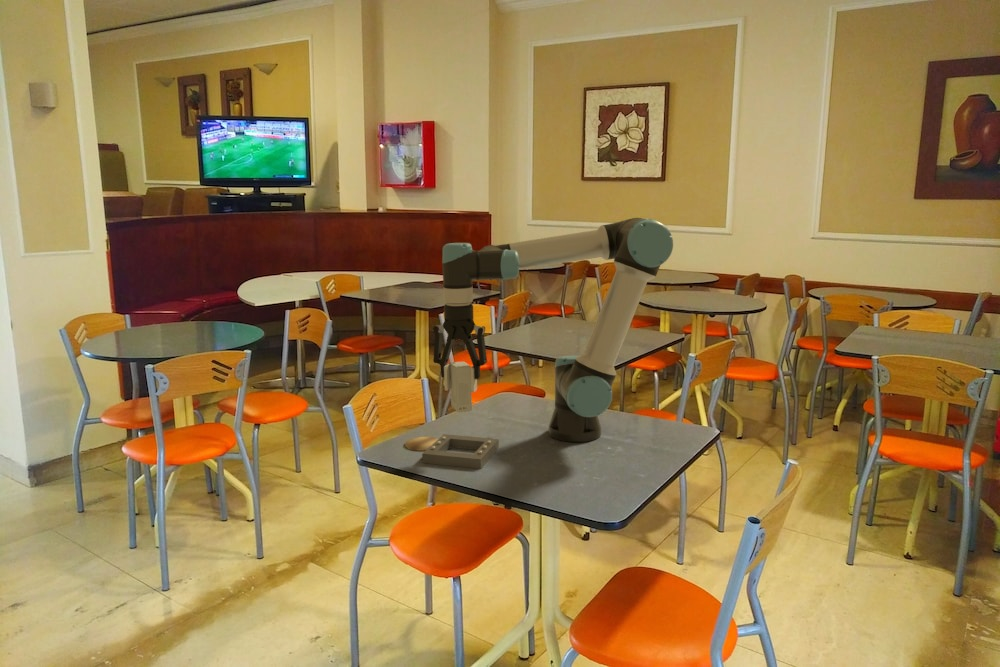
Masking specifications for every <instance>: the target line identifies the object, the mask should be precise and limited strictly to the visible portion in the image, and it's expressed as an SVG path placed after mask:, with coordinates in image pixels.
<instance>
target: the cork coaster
mask: <svg viewBox="0 0 1000 667" xmlns="http://www.w3.org/2000/svg"><path fill="white" fill-rule="evenodd" d="M438 439H439V438H437V437H433V436H419V437H413V438H410V439H408V440H406V441H405V444H404V445H405V448H406V449H408V450H410V451H416V452H425V451H426V450H427V449H428V448H429V447H430V446H431V445H432V444H434V443H435V442H436V441H437V440H438Z"/></svg>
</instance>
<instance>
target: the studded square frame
mask: <svg viewBox="0 0 1000 667" xmlns="http://www.w3.org/2000/svg"><path fill="white" fill-rule="evenodd" d="M499 440H500V439H499V438H492V437H491V438H489V437H481V436H468V435H457V434H456V435H455V434H443V435H441V436H440V437H439V438H438V440H437V441H436V442H435V443H434V444H432V445H431V446H430V447H429V448H428V449H427V450H426V451H423V452H422V463H423V464H430V465H431V464H432V465H440V466H442V465H443V466H451V467H463V468H471V469H482V468H483V467H484V466H485V464H486V463H487V462H488V461H489V460H490V459H491V457H493V455H494V454H495V453H496V452H497V450H499V448H500V445H499V444H500V442H499ZM450 448H456V449H466V450H476V451H475V452H474V453H466V452H465V453H463V452H454V451H448V450H449V449H450Z"/></svg>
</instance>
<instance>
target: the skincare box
mask: <svg viewBox="0 0 1000 667" xmlns="http://www.w3.org/2000/svg"><path fill="white" fill-rule="evenodd" d="M449 364H450V383H451V388H450V401H451V402H450V405H451V407H452V408H453V410H455V411H456V412H458V413H463V412H464V413H465V412H471V411H472V410H473V402H472V392H471V367H472V366H470V365H469V364H468V363H467V362H465V361H455V362H450V363H449Z"/></svg>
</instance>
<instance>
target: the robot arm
mask: <svg viewBox="0 0 1000 667" xmlns="http://www.w3.org/2000/svg"><path fill="white" fill-rule="evenodd" d="M671 233H672V232H671V231H670V230H669V228H668V227H667V226H666V225H665V224H663V223H661V222H659V221H657V220H656V219H651V218H641V217H631V218H628V219H625V220H621V221H617V222H613V223H609V224H602V225H600V226H599V227H598V229H595V230H594V229H593V230H587V231H581V232H575V233H567V234H562V235H554V236H549V237H542V238H541V237H540V238H536V239H530V240H529V239H528V240H524V241H523V240H522V241H518V242H511V243H510V242H509V243H506V244H505V243H503V244H497V245H493V244H490V245H485V246H484V247H482V248H481V249H480V250H476V249H475V250H474V249H473V247H472V244H471V243H470V242H452V243H450V242H449V243H446V244H444V245H443V246H442V261H441V262H442V265H441V266H442V283H443V303H444V305H443V313H444V314H443V318H444V321H443V324H437V325H435V326H433V329H432V330H433V333H434V344H433V346H434V348H433V363H435V364H437V365H439V366H440V376H441V378H444V380H443V382H444V391H445V392H446V391H449V390H451V383H450V363H449V359H450V354H451V352H452V350H453V349H452V348H453V345H454V342H455V340H461V341H463V344H464V345H465V347H466V349H467V352H468V354H469V357H470V361H471V363H472V366H471V393H475V392H476V391H477V390H478V380H479V379H480V377H481V367H482V366H484V365H486V364H487V362H488V357H487V350H486V341H485V332H486V326H484V325H483V326H478V325H477V324H476V323H475V321H474V305H473V304H472V303H473V302H474V297H473V296H474V294H473V292H474V291H473V290H474V288H473V285H474V284H473V281H479V280H480V281H481V280H485V281H486V280H491V281H492V280H504V281H507V280H512V279H513V280H514V279H517V278H518V277H519V274H520V270H526V269H530V268H531V269H532V268H537V267H545V266H550V265H558V264H565V263H571V262H578V261H584V260H590V259H591V260H592V259H598V258H601V259H604V260H605V261H608V260H613V263H614V264H613V265H614V266H615V273H614V275H613V278H612V281H611V283H610V286H609V288H608V290H607V293H606V296H605V298H604V300H603V304H602V306H601V308H600V311H599V314H598V316H597V318H596V321H595V324H594V326H593V329H592V331H591V334H590V336H589V339H588V341H587V343H586V347H585V349H584V352H583V353H582V354H581V355H575V354H573V355H562V356H558V357H557V358H556V359H555V363H554V364H555V365H554V409H553V412H552V415H551V418H550V421H549V424H548V435H549V436H550V437H551V438H553V439H555V440H558V441H561V442H562V441H563V442H570V443H582V442H590V441H594V440H597V439H599V438H600V437H601V435H602V425H601V422H600V419H599V416H601V415H602V414H603V413H605V412H606V410H608V408H609V407H610V406H611V404H612V400H613V389H612V386H613V384H614V381H615V379H616V377H617V371H616V368H615V364H616V361H617V358H618V356H619V353H620V351H621V348H622V346H623V344H624V341H625V338H626V337H627V334H628V332H629V328H630V326H631V323H632V321H633V318H634V316H635V314H636V311H637V308H638V306H639V304H640V302H641V298H642V296H643V294H644V291H645V289H646V286H647V283H648V282H649V281H651V280H653V279H655V278H656V277H657V274H658V272H659V269H660V267H661V266H662V265H663V264H665V263H666V262H667V260H669V258H670V257H671V255H672V253H673V249H674V238H673V235H672V234H671ZM444 331H445V333H447V337H446V342H445V346H444V349H443V350H442V347H443V333H444ZM474 331H475V332H474ZM473 332H474V333H475V335H476V343H477V349H478V351H477V350H476V346H475V344H474V340H473V337H472V333H473ZM442 351H443V352H442Z"/></svg>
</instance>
